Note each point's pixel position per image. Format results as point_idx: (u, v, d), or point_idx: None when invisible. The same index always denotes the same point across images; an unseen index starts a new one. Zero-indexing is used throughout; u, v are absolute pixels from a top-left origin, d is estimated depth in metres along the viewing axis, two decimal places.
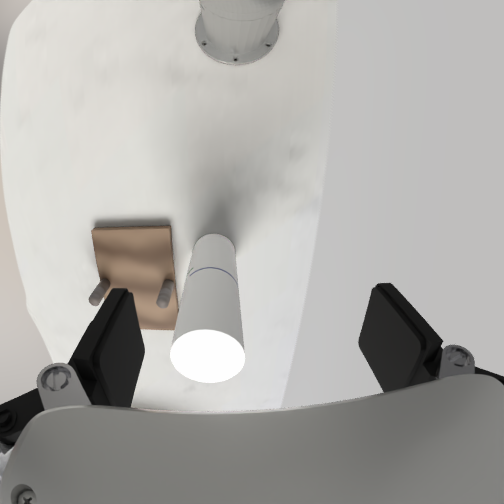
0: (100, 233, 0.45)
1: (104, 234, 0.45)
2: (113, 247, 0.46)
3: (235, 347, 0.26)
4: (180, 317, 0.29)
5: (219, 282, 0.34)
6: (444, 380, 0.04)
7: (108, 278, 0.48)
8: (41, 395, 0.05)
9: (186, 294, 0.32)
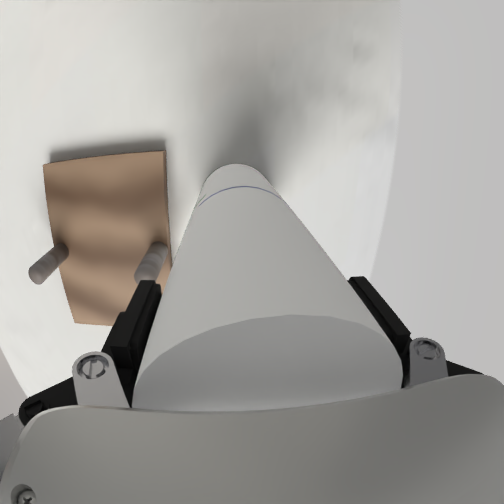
0: (55, 167, 0.25)
1: (60, 168, 0.25)
2: (73, 189, 0.26)
3: (382, 377, 0.06)
4: (172, 282, 0.09)
5: (276, 204, 0.14)
6: (444, 380, 0.04)
7: (65, 243, 0.28)
8: (79, 383, 0.06)
9: (191, 230, 0.12)
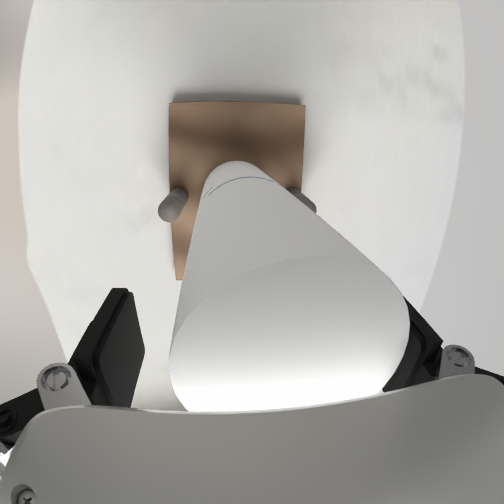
0: (185, 107, 0.27)
1: (193, 108, 0.27)
2: (205, 130, 0.28)
3: (393, 324, 0.07)
4: (199, 251, 0.10)
5: (283, 190, 0.15)
6: (444, 380, 0.04)
7: (186, 186, 0.30)
8: (41, 395, 0.05)
9: (207, 213, 0.14)
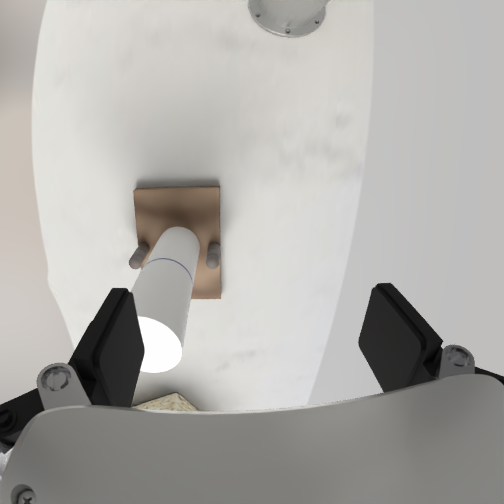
0: (143, 193, 0.44)
1: (148, 194, 0.44)
2: (157, 208, 0.45)
3: (170, 336, 0.25)
4: None
5: (167, 272, 0.33)
6: (444, 380, 0.04)
7: (148, 242, 0.48)
8: (41, 395, 0.05)
9: (135, 284, 0.31)
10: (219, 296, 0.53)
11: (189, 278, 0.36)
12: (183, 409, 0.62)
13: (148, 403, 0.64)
